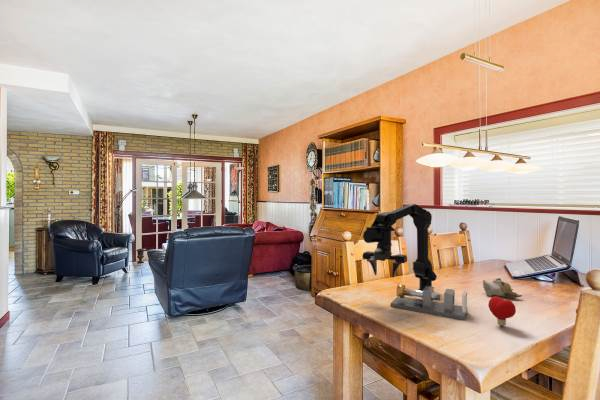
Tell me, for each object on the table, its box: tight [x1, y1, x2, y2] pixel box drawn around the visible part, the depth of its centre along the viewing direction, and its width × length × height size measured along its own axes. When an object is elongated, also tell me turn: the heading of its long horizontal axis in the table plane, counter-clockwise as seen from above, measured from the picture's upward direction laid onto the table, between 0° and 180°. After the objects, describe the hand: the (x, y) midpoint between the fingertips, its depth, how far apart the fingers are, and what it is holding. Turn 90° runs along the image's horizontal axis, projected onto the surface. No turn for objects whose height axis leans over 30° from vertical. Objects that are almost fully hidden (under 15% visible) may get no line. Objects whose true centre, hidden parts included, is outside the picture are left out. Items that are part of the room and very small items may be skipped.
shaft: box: [395, 283, 442, 302], centre depth 138 cm, size 6×17×6 cm, turn 58°
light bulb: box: [487, 296, 517, 327], centre depth 118 cm, size 9×7×10 cm
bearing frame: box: [390, 286, 468, 321], centre depth 136 cm, size 12×28×8 cm, turn 58°
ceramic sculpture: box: [482, 278, 523, 299], centre depth 153 cm, size 11×9×15 cm
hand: (384, 276), depth 145 cm, fingers open, 8 cm apart
